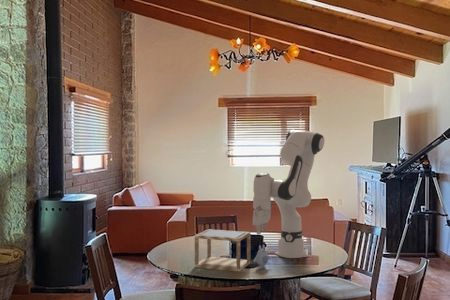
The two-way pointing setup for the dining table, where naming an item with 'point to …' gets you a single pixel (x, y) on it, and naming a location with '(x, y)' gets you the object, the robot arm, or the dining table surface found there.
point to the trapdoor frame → (218, 261)
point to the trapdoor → (223, 234)
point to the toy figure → (261, 257)
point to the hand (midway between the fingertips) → (261, 232)
